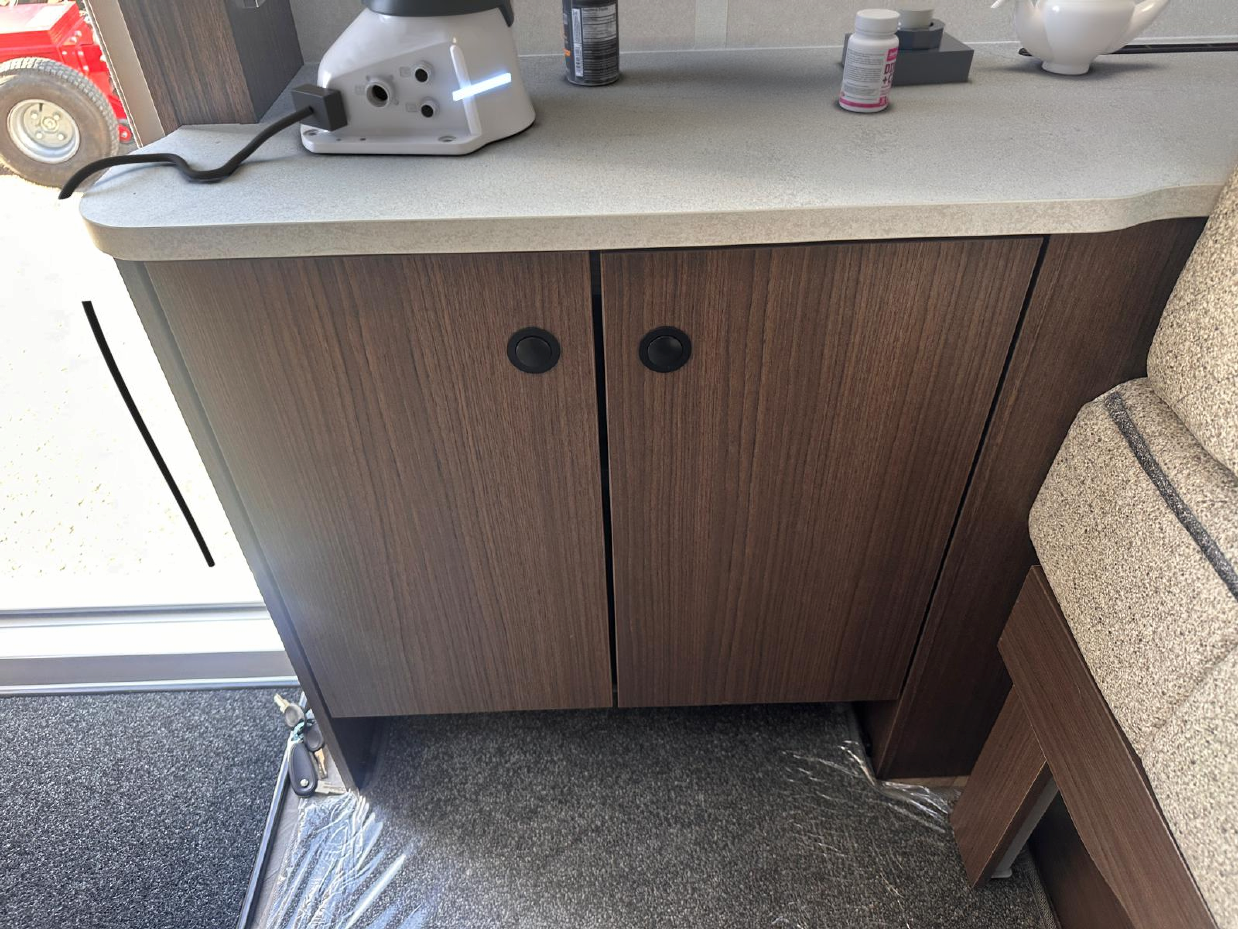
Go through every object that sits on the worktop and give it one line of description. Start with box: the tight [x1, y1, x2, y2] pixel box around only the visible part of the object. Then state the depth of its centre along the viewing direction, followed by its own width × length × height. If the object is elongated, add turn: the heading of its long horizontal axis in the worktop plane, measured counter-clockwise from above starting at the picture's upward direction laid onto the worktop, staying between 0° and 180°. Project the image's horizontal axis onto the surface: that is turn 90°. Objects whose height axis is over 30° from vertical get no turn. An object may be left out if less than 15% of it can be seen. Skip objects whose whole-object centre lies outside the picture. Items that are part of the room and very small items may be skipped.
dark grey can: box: [561, 0, 621, 86], centre depth 89 cm, size 6×6×11 cm
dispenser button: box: [893, 1, 935, 29], centre depth 89 cm, size 4×4×2 cm
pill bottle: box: [838, 8, 900, 114], centre depth 81 cm, size 5×5×8 cm
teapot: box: [990, 0, 1173, 76], centre depth 89 cm, size 10×20×9 cm, turn 91°
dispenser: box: [840, 17, 975, 87], centre depth 91 cm, size 11×9×5 cm
